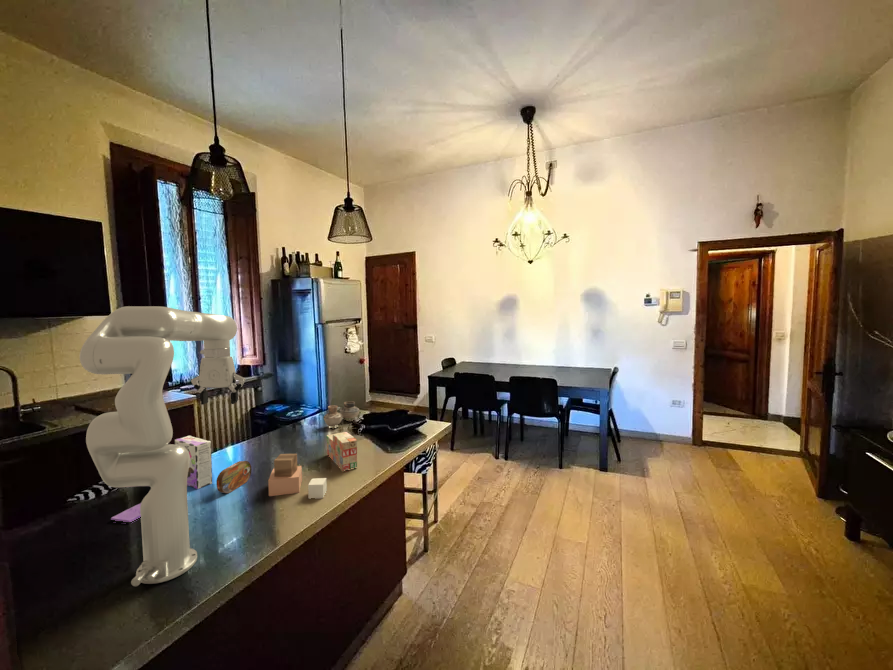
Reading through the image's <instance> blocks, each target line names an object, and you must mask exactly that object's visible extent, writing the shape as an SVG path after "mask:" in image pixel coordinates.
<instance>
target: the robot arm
mask: <svg viewBox="0 0 893 670" xmlns="http://www.w3.org/2000/svg"><path fill="white" fill-rule="evenodd" d="M237 331H238V325H237V322H236V320H234V318H233V317H231V316H228V315H223V314H214V313H206V312H199V311H191V310H190V311H189V310H183V309H177V308H173V307H167V306H159V305H158V306H154V305H153V306H152V305H151V306H149V305H148V306H146V305H145V306H142V305H141V306H135V305H134V306H132V305H131V306H130V305H128V306H122V307H118V308H117V309H115V310H113V311H112V312H111V313H110V314H109V315H107V317H105V319H103V320H102V322H101V323H99V325H98V326H97V327H96V328H95V330H94V331H93V332H92V333H91V334H90V335H89V336H88V337H87V339H86V340H85V341H84V343H83V345H82V346H81V349H80V351H79V363H80V364H81V367H83V369H84V370H85V371H87V372H89V373H91V374H94V375H130V374H131V375H130V377H129V378H128V379H127V381H126V382H125V383H124V384H123V385H122V386H121V388H120V389H119V390H118V392H117V394H116V396H115V397H114V405H115V409H116V411H110V412H109V411H108V412H104V413H102V414H100V415H99V414H98V416H96V417H95V418H94V419H92V421H90V423H89V425H88V427H87V430H86V435H85V436H86V437H85V443H86V448H87V450H88V452H89V455H90V457H91V459H92V461H93V463H94V466H95V468H96V470H97V471H98V475H99V476H100V477H101V480H102V481H103V482H104V483H105V484H106V485H107V486H108V487H112V488H131V487H132V488H133V487H150V489H149V491H148V493H147V494H146V495H145V496H144V497H143V499H142V500H141V502H142V503H141V502H140V503H141V506H140V514H141V518H140V523H141V524H140V525H141V539H142V540H141V543H142V556H143V557H142V558H143V561H142V562H141V564H140V565H139V567H138V568H137V569H136V571H135V572H136V573H135V576H134V577H133V578H132V579H131V580H130V584H131V585H132V586H133V587H138V586H139V585H140V584H141V583H142V584H144V585H145V584H147V585H153V584H154V585H155V584H160V583H164V582H168V581H170V580H173V579H175V578H177V577H179V576H181V575H183V574H186V572H188V571H189V570H190V569H191V568H193V566H194V565H196V562H197V561H198V552H197V550H195V549H194V548H191V546H190V544H191V543H190V529H189V525H190V523H189V510H188V509H189V507H188V491H187V490H188V485H187V477H188V470H189V463H190V455H189V452H188V450H187V449H186V448H185V447H183V446H180V445H175V443H174V444H171V443H170V442H171V441H172V438H173V436H174V435H173V434H174V432H173V431H174V430H173V426H172V423H171V422H172V421H171V418H170V415H169V412H168V409H167V405H166V403H165V399H164V396H163V388H164V384H165V381H166V379H167V376H168V375H169V372H170V369H171V366H172V364H173V362H174V358H175V349H174V345H173V343H172V341H174V342H175V341H176V342H197V341H198V342H199V341H200V342H201V341H203V349H201V350H200V351H199V353H200V355H203V357H201V360H200V365H199V375H197V376H195V377H194V378H192V379H191V380H190V382H191V384H192V386H193V388H194V389H195V390H196V391H197V393H199V402H200V404H201V405H206V404H207V403H209V392H208V389H218V388H219V389H222V388H223V389H225V388H228V389H229V390H230V391H231V392H230V404H231V405H235V404H236V403H238V401H239V391H240V389H241V388H242V387H243V386H244V384H245V383H246V380H247V379H246V378H245V377H243V376H241V375H239V374H237V373H236V367H235V363H234V359H233V358H234V357H233V356H231V343H230V342H231V340H232V339H234V338H235V336H237V335H236V334H237ZM237 381H238V384H236V383H237Z"/></svg>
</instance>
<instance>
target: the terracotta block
mask: <svg viewBox="0 0 893 670" xmlns="http://www.w3.org/2000/svg"><path fill="white" fill-rule="evenodd" d="M302 470H303V468H302V465H297V470H296V472H295V473H294V474H293V476H292V477H275V476H274V468H273V469H272V471H271V473H270V475H269V478H268V480H267V483H268V496H269V497H273V496H281V495H291V494H296V493H297V494H298V493H300V491H301V485H302V482H303V471H302Z"/></svg>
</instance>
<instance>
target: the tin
mask: <svg viewBox="0 0 893 670" xmlns="http://www.w3.org/2000/svg"><path fill="white" fill-rule="evenodd" d="M251 475H252V464H251V463H250V462H249V461H248V460H240V461H237V462H235V463H233V464H231V465H230V466H228V467H226V468H224V469H223V470H221V471H220V472H219V474H218V475H217V477H216V480H215V482H216V483H215V485H216V489H217V491H218V492H219V493H221V494H231V493H233V492H234V491H235V490H238V488H240V487H241V486H243V485H244V484H246V483H247V482H248V481H249V479H250V478H251Z"/></svg>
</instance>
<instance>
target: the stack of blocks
mask: <svg viewBox="0 0 893 670" xmlns="http://www.w3.org/2000/svg"><path fill="white" fill-rule="evenodd" d="M325 438H326V455H327V454H328V455H329V456H328V455H327V456H328V458H329V457H330V458H331V459H332V460H333V461H334V462H335V463H336V464H337V465H338V466H339V467H340V469H341V470H342V471H344V470H348V469H351V468H355V467H357V468H358V440H357V438H355V437H354V436H353V435H351V434H350V433H348V432H347V431H343V432H338V433H337V432H336V433H332V434H327V435H326V436H325ZM330 458H329V459H330ZM331 459H330V460H331ZM332 460H331V461H332ZM333 461H332V462H333ZM334 462H333V463H334ZM335 463H334V464H335ZM336 464H335V465H336ZM337 465H336V466H337ZM338 466H337V467H338ZM339 467H338V468H339ZM341 470H340V471H341ZM342 471H341V472H342Z"/></svg>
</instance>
